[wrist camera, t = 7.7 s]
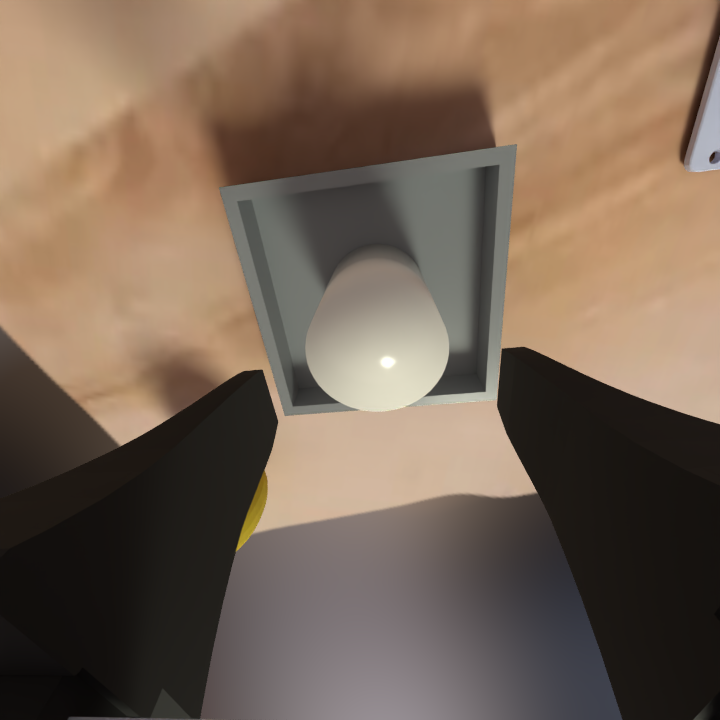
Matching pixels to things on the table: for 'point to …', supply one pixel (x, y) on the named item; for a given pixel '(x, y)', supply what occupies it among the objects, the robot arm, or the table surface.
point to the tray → (390, 227)
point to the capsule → (377, 332)
